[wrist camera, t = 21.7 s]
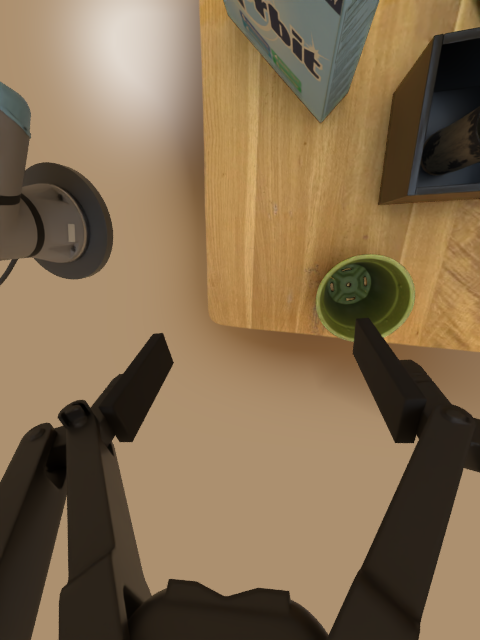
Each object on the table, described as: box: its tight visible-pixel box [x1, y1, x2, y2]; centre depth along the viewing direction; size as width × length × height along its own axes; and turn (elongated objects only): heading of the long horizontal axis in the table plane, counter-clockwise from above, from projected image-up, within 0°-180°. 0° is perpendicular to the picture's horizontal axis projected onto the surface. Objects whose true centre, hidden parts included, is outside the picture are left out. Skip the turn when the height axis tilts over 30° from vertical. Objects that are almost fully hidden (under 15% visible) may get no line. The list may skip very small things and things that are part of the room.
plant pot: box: [316, 254, 415, 342], centre depth 37 cm, size 12×12×11 cm
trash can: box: [378, 27, 480, 205], centre depth 29 cm, size 14×14×11 cm
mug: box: [421, 106, 480, 176], centre depth 27 cm, size 8×6×12 cm
